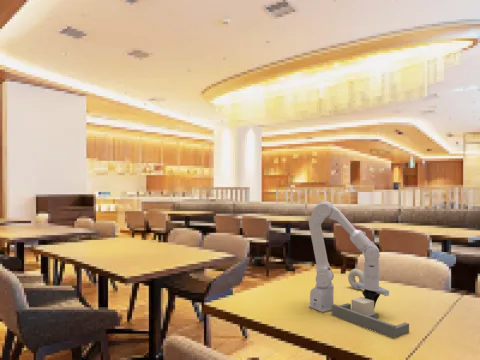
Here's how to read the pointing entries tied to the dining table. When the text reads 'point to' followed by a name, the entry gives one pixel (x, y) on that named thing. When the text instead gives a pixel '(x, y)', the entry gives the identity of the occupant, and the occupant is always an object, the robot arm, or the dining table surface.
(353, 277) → the donut
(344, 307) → the comb rack
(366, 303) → the beige cube
